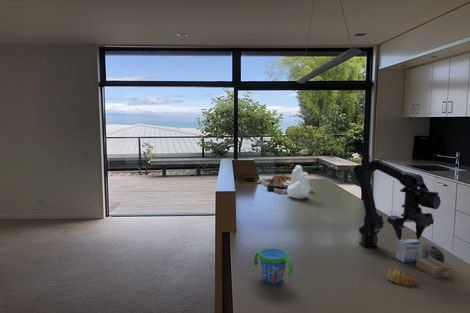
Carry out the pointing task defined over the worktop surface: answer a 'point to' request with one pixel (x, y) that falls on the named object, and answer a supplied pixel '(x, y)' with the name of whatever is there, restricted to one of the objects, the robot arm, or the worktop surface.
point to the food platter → (279, 182)
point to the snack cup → (273, 264)
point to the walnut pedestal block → (433, 267)
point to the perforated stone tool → (432, 252)
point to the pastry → (400, 277)
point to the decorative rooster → (298, 183)
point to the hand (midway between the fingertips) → (408, 239)
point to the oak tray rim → (264, 182)
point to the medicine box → (408, 250)
